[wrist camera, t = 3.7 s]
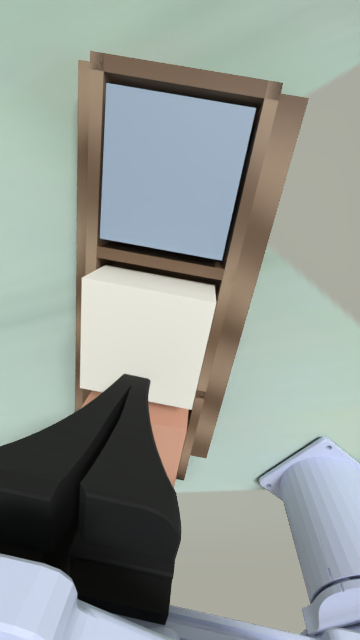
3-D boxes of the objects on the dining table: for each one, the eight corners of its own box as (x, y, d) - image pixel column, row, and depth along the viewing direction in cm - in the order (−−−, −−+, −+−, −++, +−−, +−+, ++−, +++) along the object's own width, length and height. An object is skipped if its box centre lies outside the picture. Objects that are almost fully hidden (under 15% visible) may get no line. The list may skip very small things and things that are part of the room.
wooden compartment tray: (206, 444, 25) (206, 491, 21) (82, 420, 25) (57, 461, 21) (299, 108, 15) (335, 69, 11) (90, 73, 15) (46, 21, 11)
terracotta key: (175, 460, 21) (170, 501, 18) (96, 444, 21) (78, 482, 18) (189, 395, 18) (186, 431, 15) (99, 378, 18) (79, 410, 15)
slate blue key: (218, 251, 16) (221, 260, 14) (118, 233, 17) (99, 238, 14) (245, 129, 14) (256, 108, 11) (127, 109, 14) (106, 82, 11)
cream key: (194, 376, 18) (191, 409, 15) (100, 358, 18) (79, 387, 15) (214, 284, 15) (216, 302, 12) (105, 265, 15) (81, 277, 12)
